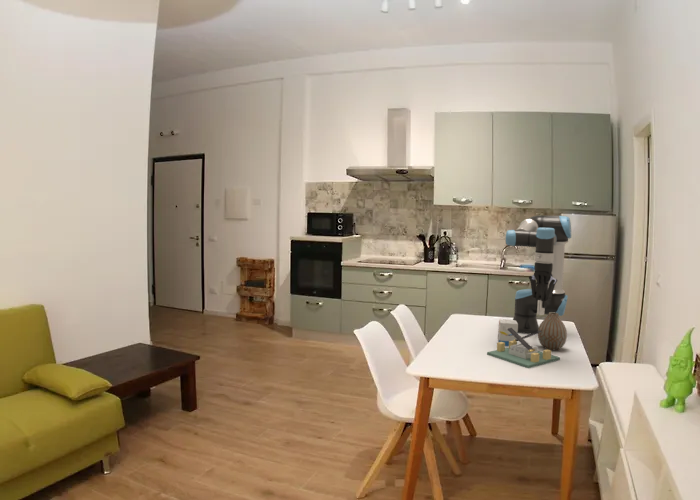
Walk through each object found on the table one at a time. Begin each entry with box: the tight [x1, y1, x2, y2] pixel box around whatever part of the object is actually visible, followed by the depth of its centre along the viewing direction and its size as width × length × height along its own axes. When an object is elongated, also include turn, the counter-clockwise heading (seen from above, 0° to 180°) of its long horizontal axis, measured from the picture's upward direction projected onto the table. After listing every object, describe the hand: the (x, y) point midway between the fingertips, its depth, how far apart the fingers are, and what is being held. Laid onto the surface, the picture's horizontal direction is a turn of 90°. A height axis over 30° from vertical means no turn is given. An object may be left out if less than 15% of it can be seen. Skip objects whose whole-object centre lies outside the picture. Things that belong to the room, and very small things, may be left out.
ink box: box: [497, 318, 519, 347], centre depth 241 cm, size 8×8×12 cm
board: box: [486, 341, 561, 369], centre depth 219 cm, size 23×22×5 cm
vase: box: [537, 312, 568, 351], centre depth 235 cm, size 13×13×18 cm
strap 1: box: [508, 328, 535, 352], centre depth 216 cm, size 3×14×1 cm
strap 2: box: [513, 331, 542, 342], centre depth 222 cm, size 3×14×1 cm, turn 34°
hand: (540, 314), depth 216 cm, fingers closed
